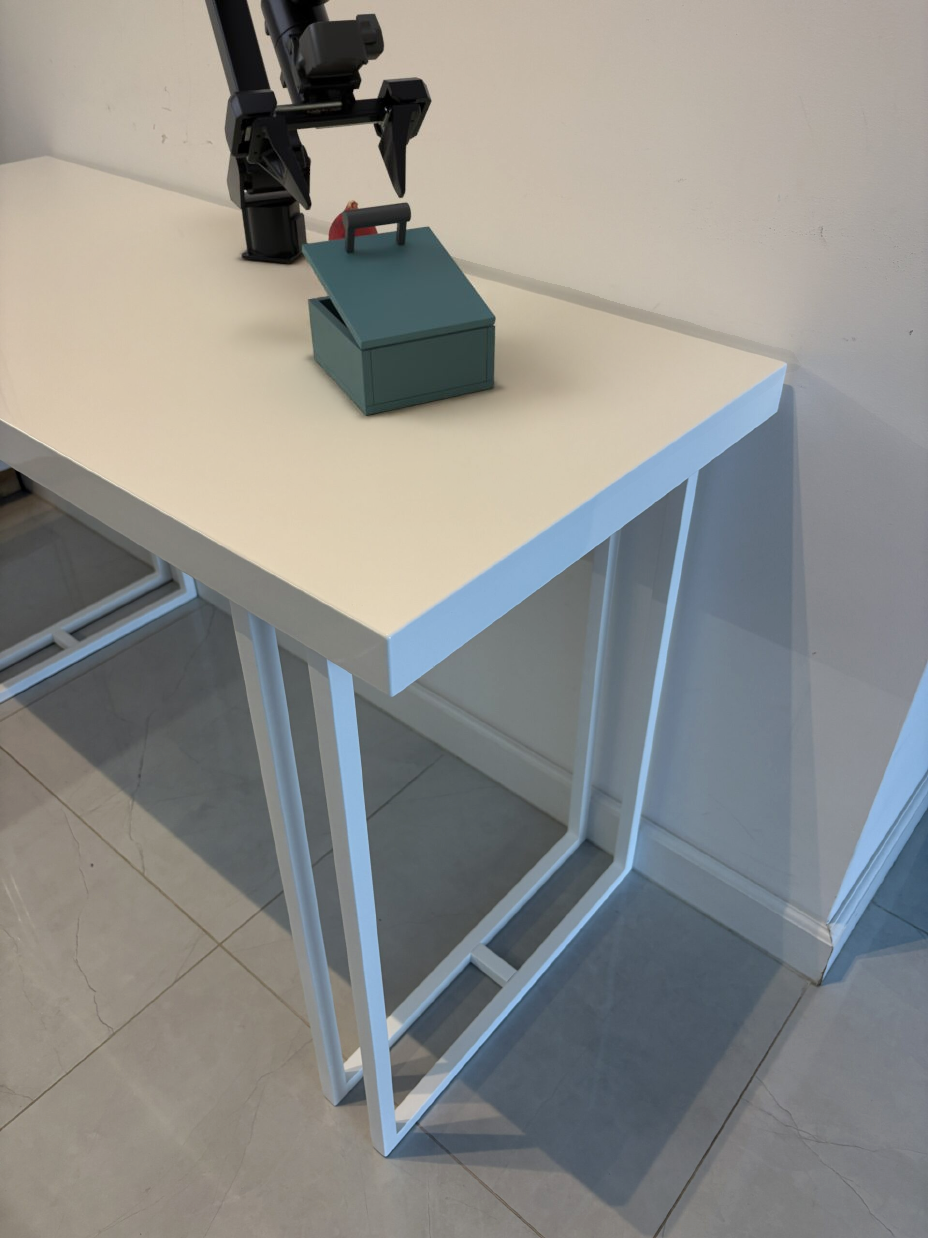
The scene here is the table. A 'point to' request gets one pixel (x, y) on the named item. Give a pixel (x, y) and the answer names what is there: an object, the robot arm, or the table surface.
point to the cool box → (401, 363)
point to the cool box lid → (395, 280)
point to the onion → (339, 231)
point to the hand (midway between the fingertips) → (356, 201)
